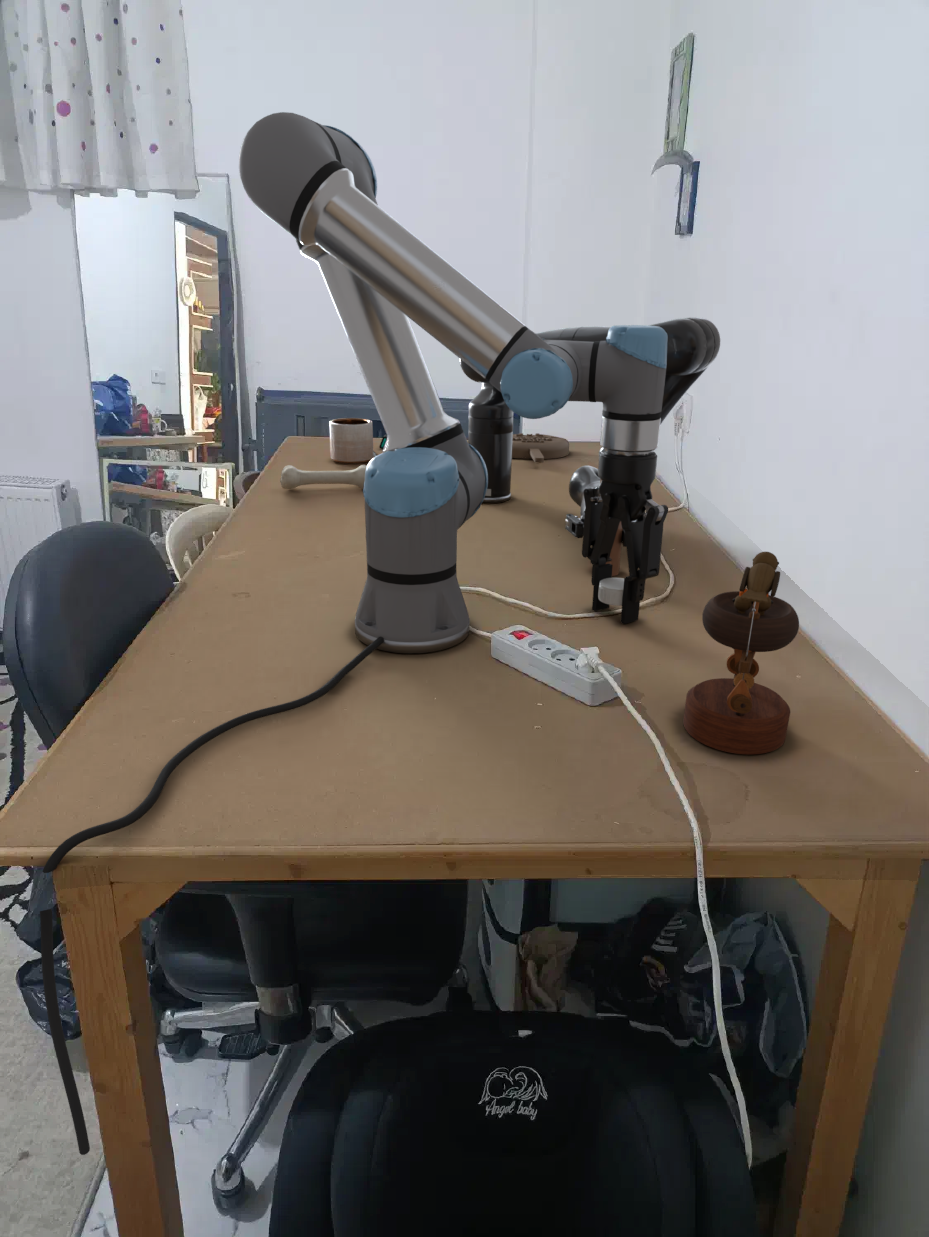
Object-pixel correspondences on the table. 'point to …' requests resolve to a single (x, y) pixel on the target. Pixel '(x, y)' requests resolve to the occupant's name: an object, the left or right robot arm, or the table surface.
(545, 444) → the ice cream bar
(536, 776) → the table surface
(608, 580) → the lid
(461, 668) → the table surface
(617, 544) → the jar
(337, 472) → the dog toy
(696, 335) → the right robot arm
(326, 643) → the table surface
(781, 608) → the brown wooden figurine
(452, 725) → the table surface
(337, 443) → the planter
